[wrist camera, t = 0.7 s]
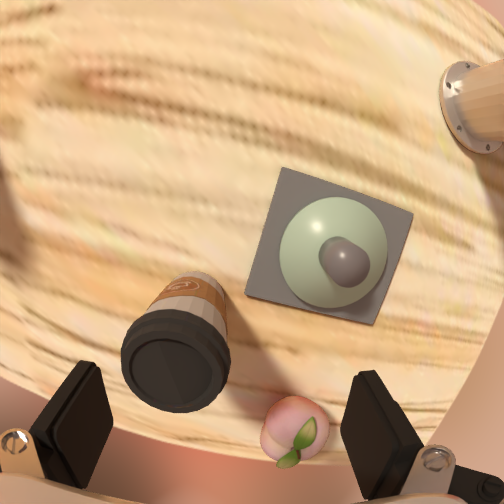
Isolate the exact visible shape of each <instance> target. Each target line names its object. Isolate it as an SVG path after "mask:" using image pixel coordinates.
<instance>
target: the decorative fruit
mask: <svg viewBox="0 0 504 504" xmlns="http://www.w3.org/2000/svg"><path fill="white" fill-rule="evenodd" d="M329 432H330V425H329V420H328V417H327V415H326V413H325V412H324V411H323V409H322V408H321V407H320V406H318V405H317V404H316V403H314V402H313V401H311V400H309V399H307V398H304V397H301V396H289V397H286V398H283V399H281V400H279V401H278V402H276V403H275V404H274V405H273V406H272V407H271V408H270V409H269V411H268V412H267V414H266V421H265V422H264V425H263V427H262V431H261V435H260V444H261V447H262V449H263V451H264V452H265V453H266V454H267V455H268V456H269V457H270V458H272V459H274V460H276V461H278V462H277V464H276V466H277V467H278V468H282V469H285V468H290V467H293V466H295V465H296V464H298V463H299V462H300V461H302V460H306V459H309V458H311V457H313V456H314V455H316V454H317V453H318V452H319V451H320V450H321V449H322V448H323V446H324V444H325V443H326V440H327V438H328V436H329Z"/></svg>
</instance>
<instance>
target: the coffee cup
mask: <svg viewBox="0 0 504 504" xmlns="http://www.w3.org/2000/svg"><path fill="white" fill-rule="evenodd" d="M230 365H231V358H230V351H229V348H228V346H227V321H226V309H225V300H224V293H223V291H222V288H221V286H220V285H219V283H218V282H217V281H216V280H215V279H214V278H212V277H211V276H210V275H207V274H205V273H203V272H197V271H192V272H186V273H183V274H180V275H179V276H177V277H176V278H175V279H174V280H173V281H172V282H171V283H170V284H169V285H167V286H166V288H165V289H164V290H163V291H162V292H161V293H160V294H159V296H158V297H157V298H156V299H155V300H154V301H153V302H152V304H151V305H150V306H149V308H148V309H147V311H146V312H145V314H144V315H143V316H141V317H140V318H138V319H137V320H136V321H134V323H133V324H132V325H131V327H130V328H129V329H128V331H127V334H126V337H125V338H124V341H123V344H122V348H121V367H122V373H123V376H124V379H125V381H126V383H127V385H128V386H129V388H130V389H131V391H132V392H133V393H134V394H135V395H136V396H137V397H138V398H139V399H141V400H142V401H144V402H145V403H147V404H148V405H150V406H152V407H155V408H157V409H160V410H162V411H167V412H172V413H189V412H193V411H198V410H200V409H202V408H204V407H206V406H208V405H209V404H210V403H211V402H212V401H213V400H215V399H216V397H217V395H218V394H219V393H220V392H221V391H222V389H223V388H224V386H225V384H226V382H227V378H228V374H229V370H230Z"/></svg>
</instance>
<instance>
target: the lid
mask: <svg viewBox="0 0 504 504" xmlns="http://www.w3.org/2000/svg"><path fill="white" fill-rule="evenodd" d="M387 250H388V248H387V239H386V234H385V231H384V228H383V226H382V224H381V222H380V221H379V219H378V218H377V216H376V215H375V214H374V213H373V212H372V211H371V210H370V209H369V208H368V207H366V206H365V205H363V204H361V203H359V202H357V201H355V200H351V199H347V198H342V197H328V198H322V199H319V200H316V201H314V202H312V203H310V204H308V205H306V206H305V207H303V208H302V209H301V210H300V211H298V212H297V213H296V214H295V215H294V217H293V218H292V219H291V220H290V222H289V223H288V225H287V227H286V228H285V230H284V233H283V235H282V238H281V242H280V248H279V261H280V267H281V270H282V274H283V276H284V278H285V280H286V282H287V284H288V286H289V287H290V289H291V290H292V291H293V292H294V293H295V294H296V295H297V296H298V297H299V298H300V299H302V300H304V301H305V302H307V303H309V304H311V305H314V306H317V307H323V308H337V307H342V306H346V305H349V304H352V303H354V302H356V301H358V300H359V299H361V298H362V297H364V296H365V295H366V294H367V293H368V292H369V291H370V290H371V289H372V288H373V287H374V286H375V284H376V283H377V282H378V280H379V278H380V277H381V275H382V272H383V270H384V267H385V264H386V259H387Z"/></svg>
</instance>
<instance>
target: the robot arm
mask: <svg viewBox="0 0 504 504" xmlns="http://www.w3.org/2000/svg"><path fill="white" fill-rule="evenodd" d="M439 95H440V103H441V107H442V111H443V114H444V117H445V120H446V122H447V124H448V126H449V128H450V130H451V132H452V133H453V134H454V136H455V137H456V139H457V140H458V141H459V142H460V143H461V144H462V145H463V146H465V147H466V148H467V149H469V150H471V151H473V152H475V153H479V154H488V153H493V152H494V151H496V150H498V149H499V147H500V146H501V145H502V144H503V142H504V59H502V60H499V61H496V62H493V63H490V64H487V65H484V66H481V67H480V66H479V65H477V64H475V63H472V62H469V61H459V62H456V63H454V64H452V65H450V66H449V67H448V68H447V69H446V70H445V71H444V73H443V75H442V78H441V82H440V94H439ZM112 427H113V416H112V412H111V409H110V405H109V402H108V398H107V394H106V390H105V387H104V383H103V378H102V374H101V370H100V368H99V367H97V366H96V364H95V363H94V362H89V361H83V360H80V361H79V362H78V363H77V365H76V366H75V367H74V369H73V370H72V371H71V372H70V374H69V375H68V376H67V378H66V379H65V380H64V382H63V383H62V385H61V386H60V387H59V389H58V390H57V391H56V393H55V394H54V395H53V397H52V398H51V400H50V401H49V402H48V404H47V405H46V406H45V408H44V409H43V411H42V412H41V414H40V415H39V417H38V418H37V419H36V421H35V422H34V424H33V425H32V426H31V429H30V430H29V431H28V432H27V431H25V430H23V429H18V428H15V429H10V430H7V431H5V432H4V433H2V435H1V436H0V504H143V503H138V502H133V501H128V500H123V499H118V498H114V497H109V496H105V495H101V494H97V493H93V492H89V491H85V490H82V489H83V488H84V489H85V488H86V487H87V486H88V483H89V481H90V479H91V476H92V474H93V471H94V469H95V466H96V464H97V462H98V459H99V457H100V455H101V452H102V450H103V447H104V445H105V443H106V441H107V438H108V436H109V434H110V431H111V429H112ZM340 432H341V436H342V439H343V442H344V445H345V448H346V450H347V453H348V456H349V459H350V462H351V464H352V467H353V470H354V473H355V476H356V479H357V481H358V485H359V487H360V490H361V493H362V496H363V498H364V499H368V501H365V502H360V503H354V504H504V482H503V481H502V480H501V479H500V478H498V477H496V476H493V475H489V474H486V473H482V472H478V471H474V470H471V469H468V468H465V467H461V466H458V465H455V462H456V459H455V456H454V454H453V453H452V451H451V450H449V449H448V448H446V447H444V446H442V445H436V444H434V445H428V446H425V447H424V445H423V443H422V442H421V440H420V438H419V437H418V435H417V433H416V432H415V430H414V428H413V427H412V425H411V423H410V422H409V420H408V419H407V417H406V415H405V414H404V412H403V410H402V409H401V407H400V406H399V404H398V403H397V402H396V401H394V400H393V398H392V396H391V395H390V393H389V391H388V390H387V388H386V387H385V385H384V383H383V382H382V380H381V379H380V377H379V376H378V374H377V372H376V371H375V370H369V371H360V372H359V373H358V375H356V376H354V378H353V382H352V386H351V390H350V394H349V398H348V401H347V405H346V409H345V412H344V416H343V419H342V423H341V427H340Z"/></svg>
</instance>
